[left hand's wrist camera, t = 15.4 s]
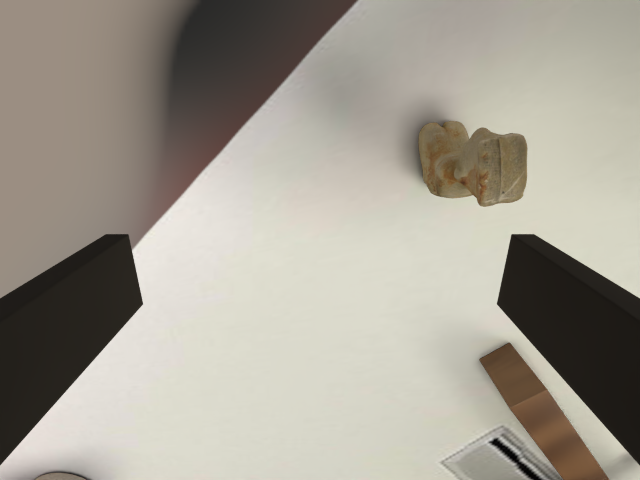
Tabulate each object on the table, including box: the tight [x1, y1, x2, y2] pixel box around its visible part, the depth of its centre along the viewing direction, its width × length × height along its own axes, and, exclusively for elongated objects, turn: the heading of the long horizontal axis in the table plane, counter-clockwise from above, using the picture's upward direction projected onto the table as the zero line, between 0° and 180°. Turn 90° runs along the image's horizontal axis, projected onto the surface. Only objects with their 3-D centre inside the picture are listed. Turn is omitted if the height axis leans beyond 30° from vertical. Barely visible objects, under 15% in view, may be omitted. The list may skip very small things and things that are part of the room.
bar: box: [479, 343, 609, 480], centre depth 49 cm, size 36×5×8 cm, turn 38°
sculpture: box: [418, 121, 527, 207], centre depth 31 cm, size 6×7×15 cm
